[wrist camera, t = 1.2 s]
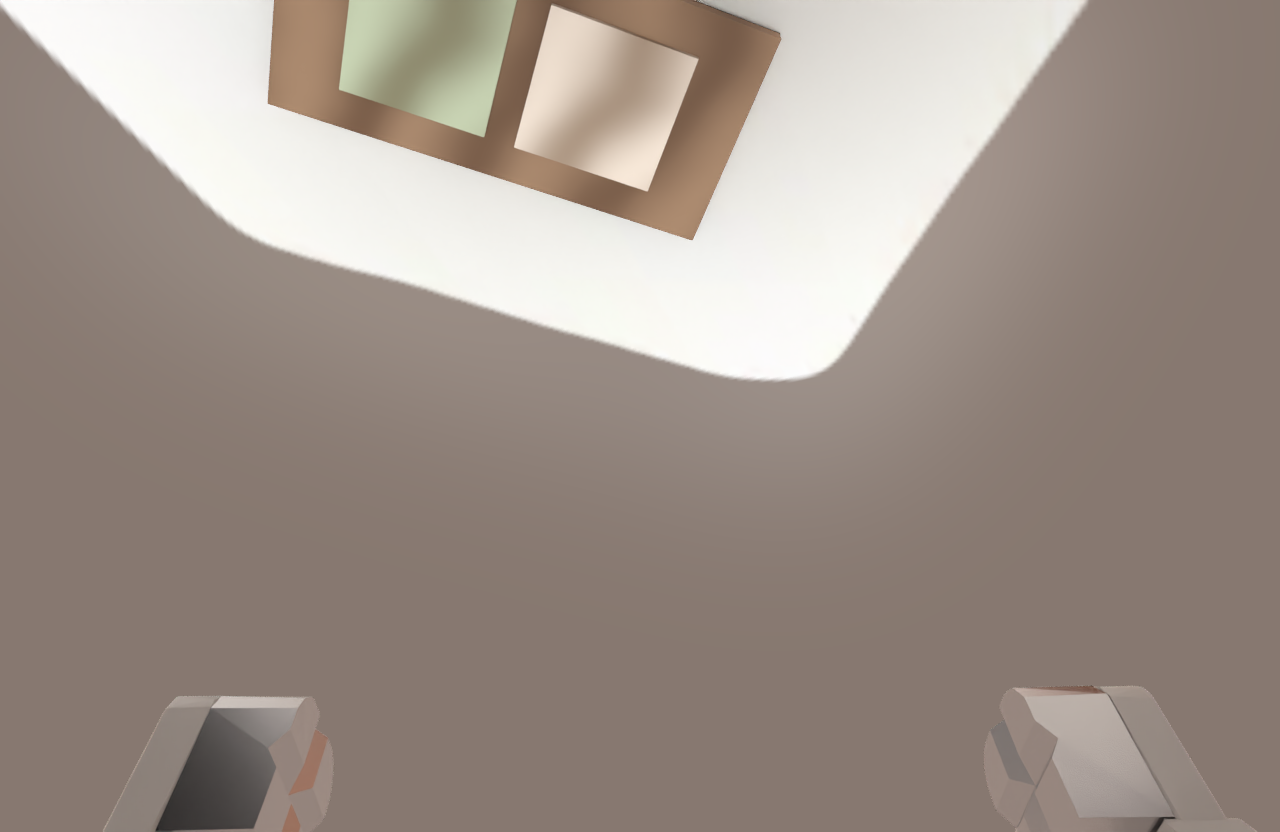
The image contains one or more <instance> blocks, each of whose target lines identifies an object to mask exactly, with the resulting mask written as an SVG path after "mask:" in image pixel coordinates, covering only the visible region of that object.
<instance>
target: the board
mask: <svg viewBox="0 0 1280 832" xmlns="http://www.w3.org/2000/svg"><path fill="white" fill-rule="evenodd" d="M780 41H781V37H780V33H777V32H775V31H772V30H770V29H767V28H764V27H762V26H759V25H757V24H754V23H751V22H749V21H746V20H744V19H741V18H738V17H736V16H733V15H730V14H728V13H725V12H723V11H720V10H717V9H715V8H712V7H710V6H707V5H704V4H702V3H699V2H697V1H694V0H274V11H273V27H272V43H271V59H270V74H269V90H268V104H270V105H274V106H277V107H280V108H283V109H286V110H289V111H292V112H295V113H298V114H301V115H305V116H308V117H311V118H314V119H317V120H320V121H323V122H326V123H329V124H333V125H336V126H339V127H342V128H345V129H348V130H351V131H354V132H357V133H360V134H364V135H367V136H370V137H373V138H376V139H379V140H382V141H385V142H388V143H391V144H395V145H398V146H401V147H404V148H407V149H410V150H413V151H416V152H419V153H423V154H426V155H429V156H432V157H435V158H438V159H441V160H444V161H447V162H450V163H454V164H457V165H460V166H463V167H466V168H469V169H472V170H475V171H478V172H482V173H485V174H488V175H491V176H494V177H497V178H500V179H503V180H506V181H509V182H513V183H516V184H519V185H522V186H525V187H528V188H531V189H534V190H537V191H540V192H544V193H547V194H550V195H553V196H556V197H559V198H562V199H565V200H568V201H572V202H575V203H578V204H581V205H584V206H587V207H590V208H593V209H596V210H599V211H603V212H606V213H609V214H612V215H615V216H618V217H621V218H624V219H627V220H630V221H634V222H637V223H640V224H643V225H646V226H649V227H652V228H655V229H658V230H662V231H665V232H668V233H671V234H674V235H677V236H680V237H683V238H686V239H689V240H693V238H694V236H695V233H696V231H697V229H698V227H699V224H700V222H701V220H702V218H703V215H704V213H705V211H706V209H707V206H708V204H709V202H710V199H711V197H712V195H713V193H714V190H715V188H716V186H717V184H718V181H719V179H720V177H721V175H722V172H723V170H724V168H725V165H726V163H727V161H728V159H729V156H730V154H731V152H732V150H733V147H734V145H735V143H736V141H737V138H738V136H739V134H740V131H741V129H742V127H743V125H744V122H745V120H746V118H747V116H748V113H749V111H750V109H751V106H752V104H753V102H754V100H755V97H756V95H757V93H758V91H759V88H760V86H761V84H762V82H763V79H764V77H765V75H766V72H767V70H768V68H769V66H770V63H771V61H772V59H773V57H774V54H775V52H776V50H777V48H778V45H779V43H780Z"/></svg>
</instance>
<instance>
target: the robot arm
mask: <svg viewBox="0 0 1280 832" xmlns="http://www.w3.org/2000/svg"><path fill="white" fill-rule="evenodd" d="M999 708H1000V710H1001V713H1002V715H1003V718H1004V720H1003V721H1002V722H1001V723H999V724H998V725H996V726H995V727H993V728H992V729H990V731H989V734H988V737H987V740H986V743H985V746H984V771H985V776H986V780H987V785H988V789H989V792H990V795H991V798H992V801H993V803H994V806H995V809H996V811H998V812H999V813H1000V814H1001V815H1002V816H1003V817H1004V818H1005V819H1006V820H1007V821H1008V822H1010V823H1011V824H1012V825H1013V826H1014V827H1015V828H1016V830H1015V832H1257V831H1255V830H1254V829H1253V828H1252V827H1250V826H1249V825H1248V824H1246V823H1245V822H1244V821H1242V820H1241V819H1235V818H1226V816H1225V815H1224V813H1223V812H1222V810H1221V808H1220V807H1219V805H1218V803H1217V802H1216V800H1215V798H1214V797H1213V795H1212V793H1211V792H1210V790H1209V788H1208V787H1207V785H1206V783H1205V782H1204V780H1203V779H1202V777H1201V775H1200V774H1199V772H1198V770H1197V769H1196V767H1195V765H1194V764H1193V762H1192V760H1191V759H1190V757H1189V755H1188V754H1187V752H1186V750H1185V749H1184V747H1183V745H1182V744H1181V742H1180V741H1179V739H1178V737H1177V736H1176V734H1175V732H1174V731H1173V729H1172V727H1171V726H1170V724H1169V722H1168V721H1167V719H1166V717H1165V716H1164V714H1163V712H1162V711H1161V709H1160V708H1159V706H1158V704H1157V703H1156V701H1155V699H1154V698H1153V696H1152V695H1151V694H1150V693H1149V692H1147V690H1145V689H1144V688H1143V687H1140V686H1110V687H1094V686H1092V685H1091V686H1059V687H1058V686H1055V687H1018V688H1011V689H1010V690H1008V691H1007V692H1005V694H1004V696H1003V698H1002V700H1001V703H1000V706H999ZM319 717H320V712H319V710H318V708H317V705H316V702H315V700H314V698H313V697H240V696H237V697H236V696H235V697H234V696H229V697H228V696H179V697H177V698H176V699H175V700H174V701H173V702H172V703H171V704H170V705H169V706H168V707H167V708H166V709H165V710H164V712H163V714H162V716H161V718H160V720H159V722H158V724H157V725H156V727H155V729H154V731H153V734H152V736H151V737H150V739H149V741H148V743H147V745H146V747H145V749H144V751H143V753H142V755H141V757H140V759H139V761H138V763H137V765H136V767H135V769H134V771H133V773H132V775H131V776H130V779H129V781H128V782H127V784H126V786H125V788H124V790H123V792H122V794H121V796H120V798H119V800H118V802H117V804H116V806H115V808H114V810H113V812H112V814H111V816H110V818H109V820H108V822H107V824H106V826H105V827H104V830H103V831H102V832H312V831H313V829H314V828H316V827H317V826H318V825H319V824H320V823H321V822H322V821H323V820H324V817H325V814H326V810H327V807H328V803H329V799H330V796H331V788H332V780H333V771H334V765H333V753H332V748H331V745H330V742H329V739H328V737H326V736H325V735H323V734H322V733H321V732H319V731H318V730H316V726H317V723H318V720H319Z"/></svg>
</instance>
